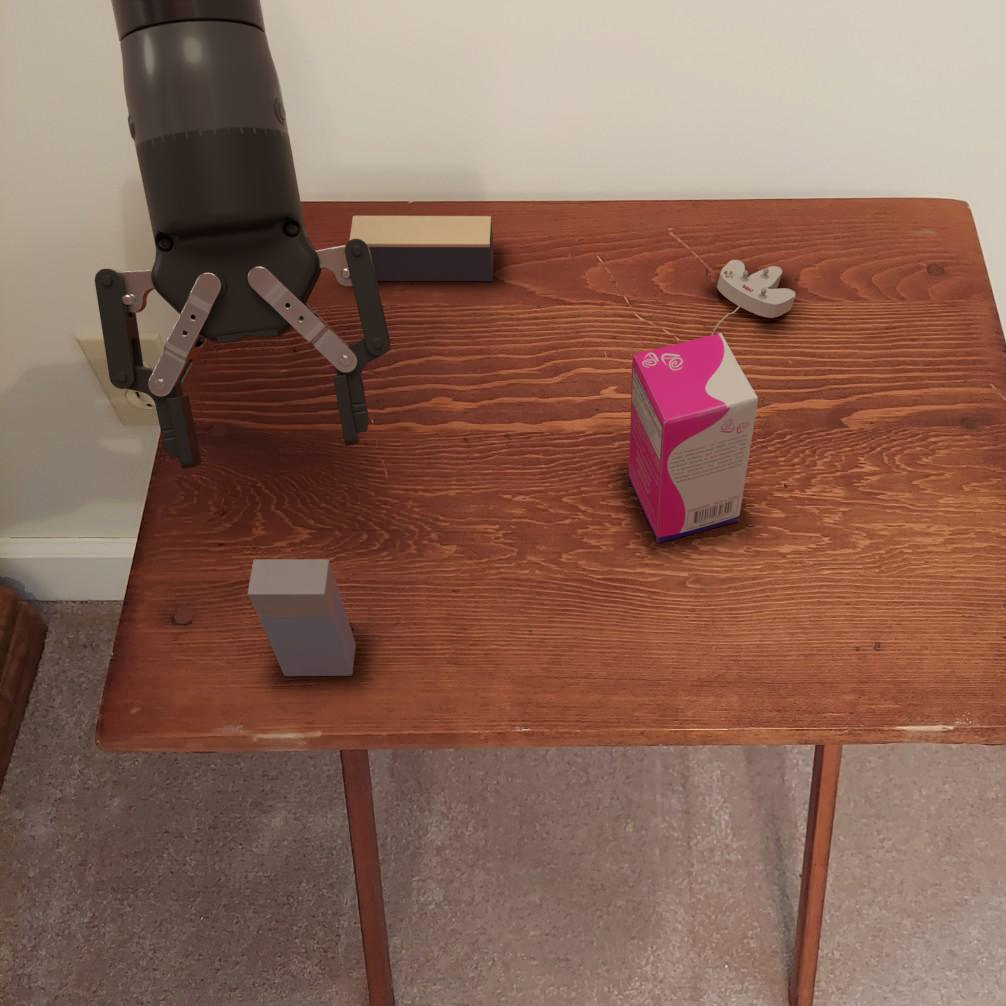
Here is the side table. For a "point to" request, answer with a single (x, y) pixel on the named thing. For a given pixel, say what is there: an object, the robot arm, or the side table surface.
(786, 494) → the side table surface
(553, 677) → the side table surface
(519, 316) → the side table surface
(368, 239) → the stand
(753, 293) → the game controller
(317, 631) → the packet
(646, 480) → the supplement box
